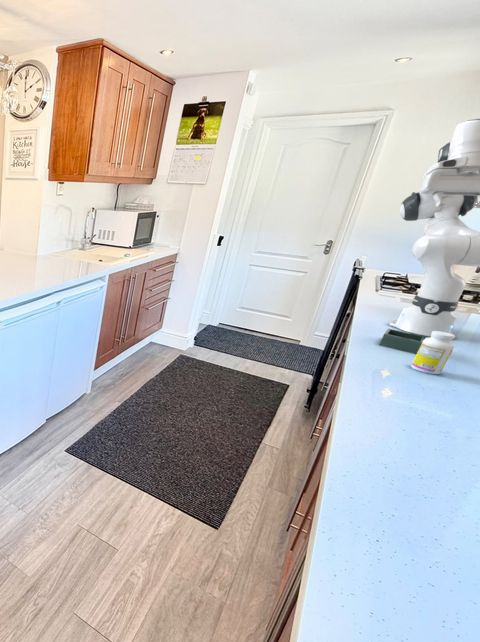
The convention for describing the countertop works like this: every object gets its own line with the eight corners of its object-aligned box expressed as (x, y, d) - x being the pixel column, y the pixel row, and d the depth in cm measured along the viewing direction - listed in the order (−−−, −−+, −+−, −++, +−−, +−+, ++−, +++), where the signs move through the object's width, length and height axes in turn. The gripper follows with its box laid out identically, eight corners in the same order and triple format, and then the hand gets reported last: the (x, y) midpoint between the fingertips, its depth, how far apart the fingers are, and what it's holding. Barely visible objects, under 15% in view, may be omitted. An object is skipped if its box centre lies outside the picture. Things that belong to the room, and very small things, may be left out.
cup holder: (383, 339, 155) (388, 328, 153) (420, 347, 148) (426, 336, 146) (379, 345, 149) (384, 333, 147) (417, 354, 142) (423, 342, 140)
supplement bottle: (426, 366, 132) (444, 330, 127) (446, 375, 126) (466, 338, 121) (404, 365, 132) (422, 328, 128) (423, 374, 126) (442, 336, 122)
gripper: (500, 171, 134) (494, 211, 134) (419, 170, 142) (413, 208, 142) (518, 162, 129) (511, 204, 128) (432, 162, 136) (426, 201, 136)
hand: (459, 206), depth 135 cm, fingers open, 8 cm apart
